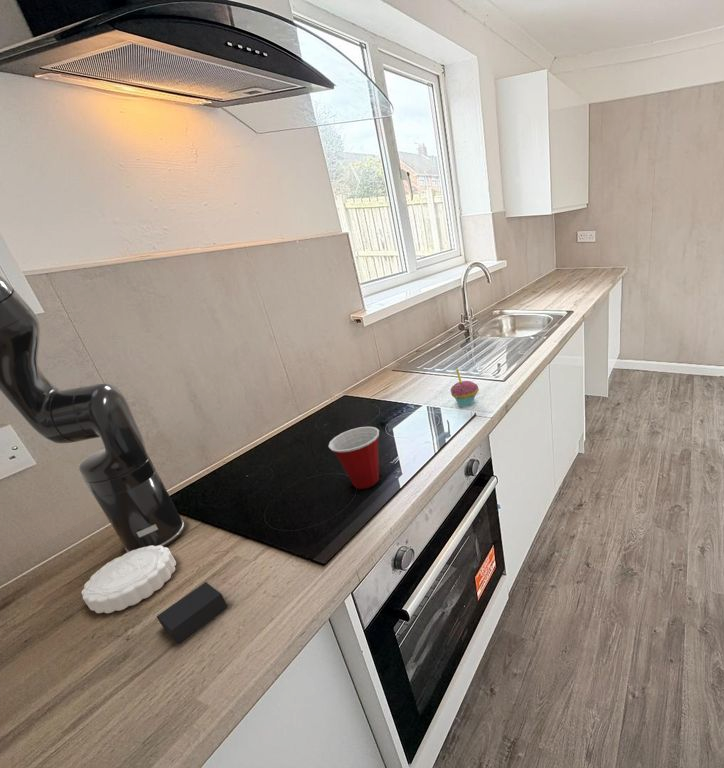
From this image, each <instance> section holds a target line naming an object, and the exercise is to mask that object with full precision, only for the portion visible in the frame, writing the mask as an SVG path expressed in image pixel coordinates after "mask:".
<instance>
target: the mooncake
mask: <svg viewBox="0 0 724 768" xmlns="http://www.w3.org/2000/svg"><path fill="white" fill-rule="evenodd" d="M176 565H177V561H176V560H175V558H174V556H173V554H172V552H171V551H170V549H169V548H168V547H166V546H165V547H163V546H161V545H158V546H153V545H151V546H148V547H143V548H138V549H136V550H132V551H130V552H128V553H127V552H125V553H124V554H123V555H122V556H119V557H116V558H114V559H111V561H109V562H107V563H106V564H105V565H103V566H102V567H101V568H99V569H98V570H97V571H95V572H94V573H93V574H92V575H91V576H90V578H89V580H87V581H86V582H85V584H84V585H83V589H82V590H81V595H82V600H83V601H84V603H85V604H86V606H87V607H88V609H90V611H92V612H93V611H94V613H96V614H103V613H104V614H110V613H114V612H115V611H116V612H120V611H123V610H125V609H126V608H128V607H132V606H135V605H137V604H139V603H140V602H141V601H142V600H144V599H145V600H146V599H147V598H149V597H151V596H152V595H153V594H154V592H156V591H158V590H160V589H161V588H162V587H163V586H164V585H165V583H166V582H168V581H169V580H170V579H171V577H172V574H174V572H175V571H176V567H175V566H176Z"/></svg>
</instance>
